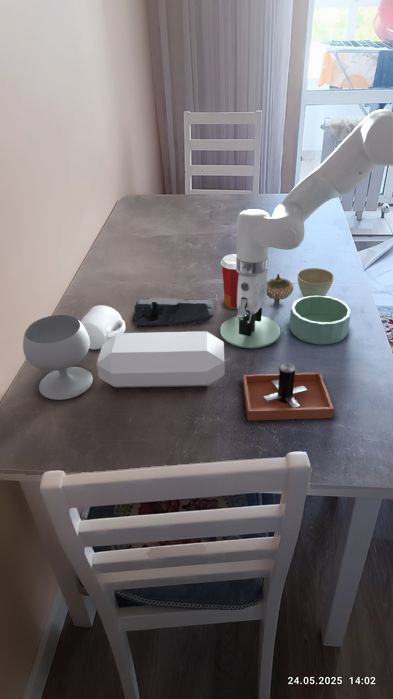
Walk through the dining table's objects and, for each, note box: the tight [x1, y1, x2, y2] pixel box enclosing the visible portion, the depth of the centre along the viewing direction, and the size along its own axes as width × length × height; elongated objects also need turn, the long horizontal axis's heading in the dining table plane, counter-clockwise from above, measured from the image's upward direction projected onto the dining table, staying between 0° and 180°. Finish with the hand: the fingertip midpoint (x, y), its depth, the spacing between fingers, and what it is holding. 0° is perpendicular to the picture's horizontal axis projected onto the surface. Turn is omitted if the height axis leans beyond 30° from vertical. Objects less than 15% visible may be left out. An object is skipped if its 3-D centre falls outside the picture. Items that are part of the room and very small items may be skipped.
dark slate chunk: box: [134, 297, 215, 327], centre depth 134 cm, size 15×22×5 cm
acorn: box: [267, 273, 294, 307], centre depth 134 cm, size 8×8×10 cm
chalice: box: [22, 314, 94, 401], centre depth 107 cm, size 14×14×15 cm
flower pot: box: [296, 267, 335, 297], centre depth 138 cm, size 10×10×7 cm
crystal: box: [96, 330, 226, 389], centre depth 109 cm, size 14×10×28 cm
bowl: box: [289, 295, 352, 345], centre depth 124 cm, size 15×15×6 cm
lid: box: [219, 313, 282, 349], centre depth 124 cm, size 16×16×6 cm
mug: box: [80, 304, 126, 350], centre depth 123 cm, size 12×9×8 cm
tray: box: [242, 372, 335, 421], centre depth 103 cm, size 17×12×2 cm
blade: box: [263, 363, 307, 408], centre depth 101 cm, size 10×10×8 cm
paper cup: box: [220, 253, 239, 310], centre depth 135 cm, size 8×8×14 cm
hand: (250, 326), depth 125 cm, fingers open, 6 cm apart
